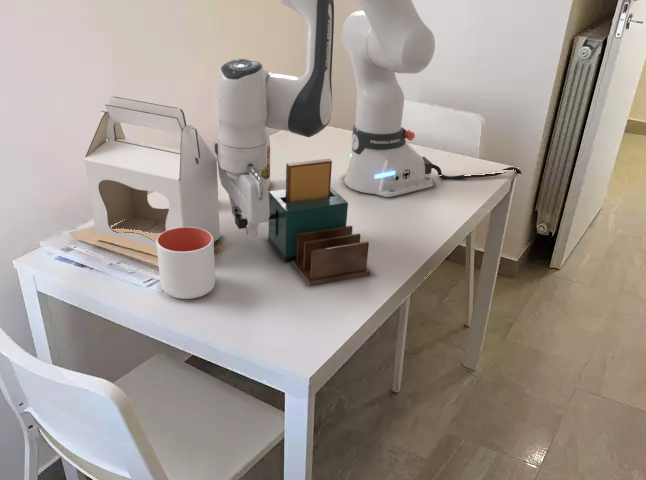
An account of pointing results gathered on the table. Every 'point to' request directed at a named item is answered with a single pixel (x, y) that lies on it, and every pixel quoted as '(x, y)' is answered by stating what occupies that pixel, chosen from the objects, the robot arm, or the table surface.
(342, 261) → the toast rack
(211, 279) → the cup
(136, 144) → the gable box
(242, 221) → the carriage
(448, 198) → the table surface
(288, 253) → the toaster
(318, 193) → the toast
